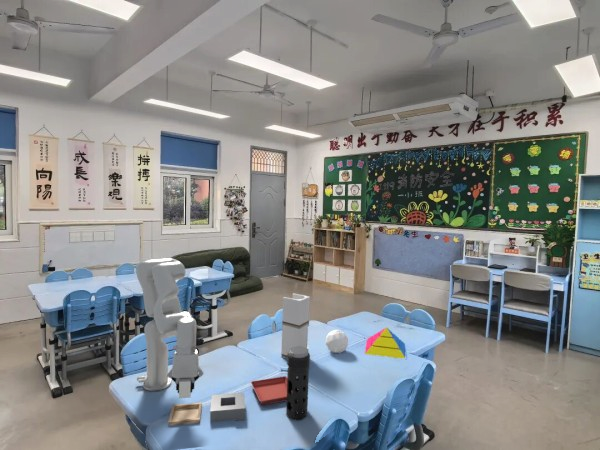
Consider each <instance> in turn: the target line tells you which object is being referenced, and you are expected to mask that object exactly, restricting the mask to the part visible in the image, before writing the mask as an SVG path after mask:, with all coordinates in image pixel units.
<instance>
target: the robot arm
mask: <svg viewBox="0 0 600 450" xmlns="http://www.w3.org/2000/svg"><path fill="white" fill-rule="evenodd" d="M185 277H186V267H185V265H184V263H182V262H181V261H179V260H177V259H175V258H171V257H170V258H167V257H166V258H157V259H156V258H155V259H147V260H146V259H145V260H143V261H140V262H139V263H138V264H137V265H136V278H137V281H138V282H139V284H140V286H141V289H142V295H143V302H144V304H143V305H144V309H145V310H144V311H145V315H146V316H147V317H148V318H154V319H153V320H151V321H148V322H147V323H146V324H145V326H144V330H143V331H144V336H145V342H146V375H143V376H142V375H139V376H136V381H137V382H138V383H139V384H140V383H141V384H142V383H143V384H142V386H143V389H144V390H145V391H149V392H155V391H162V390H164V389H167V388H168V387H170V386H171V384H172V381H173V382H174V384H175V391H177V394H179V379H180V378H191V391H190V392H191V394H192V393H193V390H195V382H196V381H198V379H200V378H201V377H202V376H204V371H203V370H202V368H201V367H200V363H199V360H200V359H199V354H198V353H199V352H198V350H197V348H196V347H197V321H196V319H195V318H194V317H193V315H192V314H191V313H190V312H189V311H182V308H181V302H180V299H179V297H178V295H179V293H180V289H179V287H178V284H177V281H179V280H183V279H185ZM172 337H176V344H175V345H173V346H172V350H173V351H175V352H174V353H173V358H172V365H171V367H172V368H171V369H170V371H169V347H168V346H169V345H168V344H167V343H166V342H165V341H164V340H166V339H169V338H172Z"/></svg>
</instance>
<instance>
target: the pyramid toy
mask: <svg viewBox="0 0 600 450" xmlns="http://www.w3.org/2000/svg"><path fill="white" fill-rule="evenodd" d="M405 352H406V343H404V341H403V340H402V339H400V338H399V337H398V336H397V335H396V334H395V333H394V332H392V330H391V329H389V328H388V327H384V328H383V329H381V330H380V331H378V332H377V333H375V334H373V335H371V336H370V337H368V338H366V343H365V351H364V355H371V356H376V355H379V356H378V357H384V356H387V357H386V358H391V357H395V358H394V359H399V358H405Z"/></svg>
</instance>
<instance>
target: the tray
mask: <svg viewBox="0 0 600 450" xmlns="http://www.w3.org/2000/svg"><path fill="white" fill-rule="evenodd" d="M202 408H203V402H202V401H201V402H192V403H191V402H190V403H189V402H188V403H180V404H178V403H177V404H172V405H171V410H170V413H169V418H168V421H167V424H168V425H167V426H169V427H171V426H180V425H193V424H200V423H201V415H202Z"/></svg>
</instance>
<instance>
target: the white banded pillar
mask: <svg viewBox="0 0 600 450" xmlns="http://www.w3.org/2000/svg"><path fill="white" fill-rule="evenodd" d="M310 302H311V296H308V295H304V294H299V293H294V292H293V293H292V297H286V296H283V297H282V318H281V319H282V323H281V324H282V325H281V356H280V357H281V358H282V359H286V360H287V354H288V353H289V349H290V348H292V347H295V346H302V347H306V348H307V349H308V341H309V340H308V337H309V334H308V333H309V326H310V312H311V311H310V309H311V308H310V307H311V306H310V305H311V303H310Z"/></svg>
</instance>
